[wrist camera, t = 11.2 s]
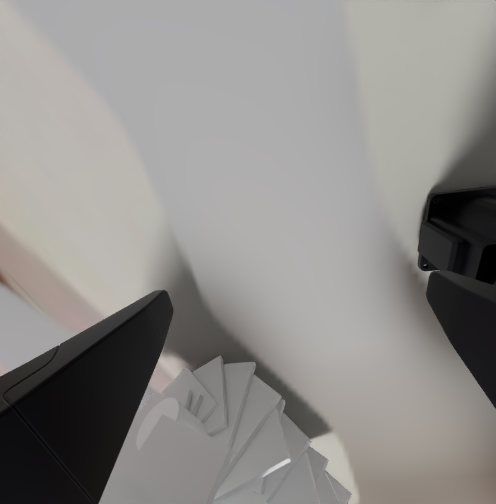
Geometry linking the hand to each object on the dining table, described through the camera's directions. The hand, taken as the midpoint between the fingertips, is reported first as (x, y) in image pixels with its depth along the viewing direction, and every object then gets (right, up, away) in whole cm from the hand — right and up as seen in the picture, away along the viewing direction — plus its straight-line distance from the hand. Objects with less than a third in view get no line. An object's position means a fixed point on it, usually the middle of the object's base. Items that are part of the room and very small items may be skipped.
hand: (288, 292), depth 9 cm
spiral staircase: (-2, -18, +24) cm, 30 cm away
